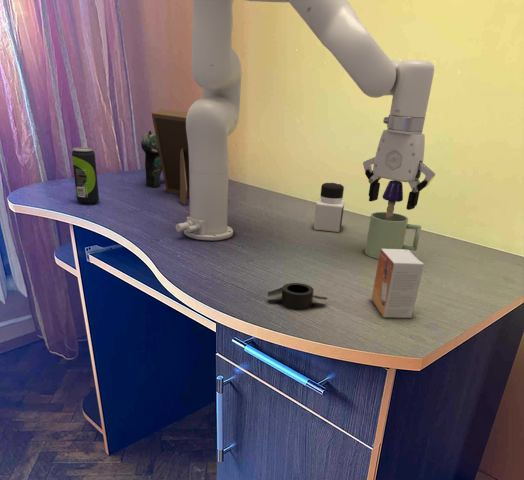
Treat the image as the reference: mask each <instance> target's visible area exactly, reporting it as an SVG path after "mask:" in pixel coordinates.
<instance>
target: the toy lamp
mask: <svg viewBox="0 0 524 480" xmlns="http://www.w3.org/2000/svg"><path fill="white" fill-rule="evenodd" d="M382 199H383V200H384V201H387V207H386V212H387V213H386V215H385V218H386V219H385V220H387V221H392V220H391V219H392V217H393V213H395V212H394V211H395V206H396V203H400V202H402V201H404V188H403V182H400V181H395V180H389V181H388V183H387V186H386V187H385V190H384V192H383V194H382Z"/></svg>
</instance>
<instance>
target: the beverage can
mask: <svg viewBox="0 0 524 480" xmlns="http://www.w3.org/2000/svg"><path fill="white" fill-rule="evenodd" d="M71 150H72V152H71V158H72V159H71V160H72V168H73V176H74V186H75V195H76V201H77V202H78V203H79V204H81V205H85V206H86V205H87V206H90V205H96V204H98V203H99V201H100V196H99V195H100V194H99V186H98V185H99V183H98V173H97V162H96V154H95V153H96V152H94V148H91V147H73V148H71Z"/></svg>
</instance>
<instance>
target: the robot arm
mask: <svg viewBox="0 0 524 480" xmlns="http://www.w3.org/2000/svg"><path fill="white" fill-rule="evenodd" d="M245 1H247V2H258V3H259V2H261V3H263V2H264V3H265V2H266V3H268V2H269V3H289V5H291V7H292V8H293V9H294V10H295V12H296V13H297V14H298V15H299V17H300V18H301V19H302V20H303V22H305V24H306V25H307V26H308V28H309V29H310V30H311V32H312V33H313V34H314V36H315V37H316V38H317V40H319V42H320V43H321V44H322V45H323V47H325V48H326V49H327V50H328V51H329V52H330V53H331V54H332V56H333V57H334V58H335V59H336V61H337V62H338V63H339V64H340V65H341V67H342V68H343V70H344V71H345V72H346V73H347V74H348V76H349V77H350V79H352V81H353V82H354V83H355V85H356V86H357V87H358V89H360V91H361V93H363V94H364V95H365V96H367V97H369V98H372V99H373V98H375V99H378V98H382V97H383V96H384V97H385V96H392V99H391V103H390V104H391V105H390V110H389V114H388V116H384V117H383V120H382V121H383V124H385V125H386V128H387V129H383V130H382V134H381V135H380V139H379V142H378V145H377V149H376V153H375V156H374V157H372V158H368V159H367V160H364V161H363V162H362V166H363V169H364V174H365V176H366V178H367V180H368V183H369V188H368V189H369V190H368V202H374V201H377V200H379V193H380V187H381V183H380V182H379V181H381V180H382V179H385V180H389V181H392V180H394V181H400V182H402V183H408V184H409V186H410V189H411V191H409V193H408V197H407V203H406V210H407V211H410V210H414V209H415V208H416V207H417V205H418V201H419V196H420V193H421V191H423V190H424V189H425V188H426V187H428V186H429V185H430V183H431V182H432V180H434V178H435V176H436V172H434V171H433V170H432V169H431V168H430V167H428V166H427V165H426V164H425V163H424V159H425V158H424V157H425V148H426V147H425V146H426V145H425V144H426V141H425V140H426V137H425V136H426V135H425V133H423V130H424V127H425V121H426V115H427V111H428V105H429V100H430V94H431V90H432V86H433V85H432V84H433V80H434V75H435V65H434V64H433V63H432V62H431V61H428V60H419V59H405V60H394V59H391V58H390V56H388V55H387V54H386V52H385V51H384V50H383V49H382V47H381V46H380V45H379V43H378V42H377V41H376V39H375V38H374V37H373V36H372V34H371V33H370V31H369V30H368V29H367V27H365V25H364V24H363V22H362V21H361V19H360V18H359V16H358V15H357V13H356V11H355V9H354V8H353V7H352V5H351V4H350V2H349V1H348V0H245ZM192 2H193V3H192V4H193V5H192V31H191V33H192V35H191V63H190V65H191V66H190V67H191V70H190V71H191V76H192V78H193V80H194V82H195V83H196V84H197V85H198V86H199V87H200V88H202V89H201V90H202V91H201V97H200V98H199V99H197V100H195V101H194V102H193V103H192V104H191V106H189V108H188V111H187V112H186V113H187V117H186V132H187V140H188V150H189V193H190V196H189V216H186V220H185V221H184V222H180V223H176V224H175V231H176V232H178V233H181V232H183V234H184V235H185V236H186V237H188V238H190V239H194V240H200V241H222V240H223V241H224V240H226V239H230V238H231V237H232V236H233V235H234V229H233V228H232V227H231V226H229V225H228V213H229V211H228V209H229V207H228V205H229V168H230V167H229V166H230V165H229V164H230V160H229V159H230V158H229V157H230V155H229V144H228V143H229V142H228V137H229V136H230V135H231V134H233V132H234V131H235V130H236V129H237V126H238V123H239V118H240V107H241V89H242V64H241V60H240V57H239V55H238V53H237V52H236V51H235V49H234V48H233V47H232V41H233V39H232V38H233V36H232V35H233V25H234V24H233V23H234V18H233V3H234V0H193V1H192ZM422 174H423V175H424V176H425V177H424V179H423V180H422V181H420V178H421V175H422Z"/></svg>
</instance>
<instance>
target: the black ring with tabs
mask: <svg viewBox="0 0 524 480" xmlns="http://www.w3.org/2000/svg"><path fill="white" fill-rule="evenodd" d="M314 291H315V290H314V288H313V287H312V286H311V285H309V284H306V283H301V282H290V283H289V282H288V283H286V284H284V285H282V287H279V288H276V289H273V290H270V291H268V292H267V298H268V299H269V298H270V299H272V298H273V299H275V298H277V299H280V304H281V305H282V306H284V307H285V308H288V309H291V310H297V311H298V310H308V309H310V308H311V307H313V299H319V300H328V297H326V296H319V295H314Z"/></svg>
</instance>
